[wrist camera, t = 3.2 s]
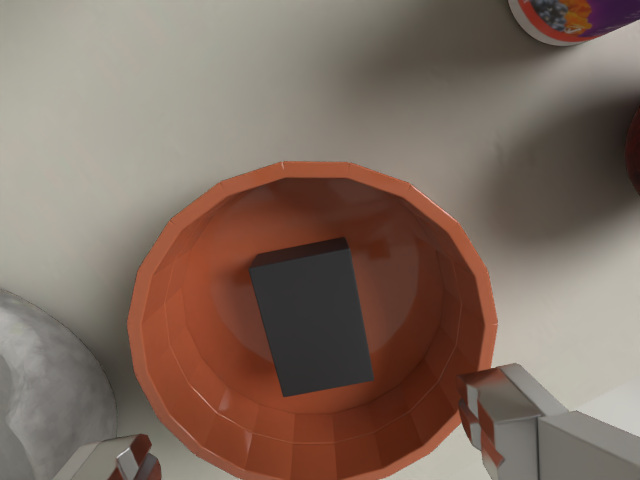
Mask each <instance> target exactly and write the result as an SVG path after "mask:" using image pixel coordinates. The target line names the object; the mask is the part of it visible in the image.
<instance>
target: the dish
mask: <svg viewBox="0 0 640 480" xmlns="http://www.w3.org/2000/svg"><path fill="white" fill-rule="evenodd" d="M116 432H117V408H116V402H115V397H114V394H113V391H112V389H111V386H110V384H109V382H108V379H107V377H106V375H105V373H104V371H103V369H102V367H101V366H100V364H99V363H98V361H97V359H96V358H95V357H94V355H93V354H92V353H91V352H90V351H89V349H88V348H87V347H86V346H85V345H84V344H83V343H82V342H81V341H80V340H79V339H78V338H77V337H76V336H75V335H74V334H73V333H72V332H71V331H70V330H68V329H67V328H66V327H65V326H64V325H62V324H61V323H60V322H58V321H57V320H55V319H54V318H53V317H51V316H50V315H48V314H47V313H45V312H44V311H42V310H41V309H39V308H38V307H36V306H35V305H33V304H31V303H29V302H27V301H25V300H24V299H22V298H20V297H18V296H17V295H14V294H12V293H10V292H7V291H5V290H2V289H0V480H52V479H53V478H54V477H55V476H56V474H57V473H58V472H59V471H60V470H61V468H62V467H63V466H64V465H65V464H66V463H67V461H68V460H69V459H70V458H71V457H72V455H73V454H74V453H75V452H76V451H77V449H78V448H79V447H81V446H82V445H84V444H86V443H89V442H95V441H102V440H106V439H112V438H116Z"/></svg>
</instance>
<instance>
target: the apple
mask: <svg viewBox="0 0 640 480" xmlns="http://www.w3.org/2000/svg"><path fill="white" fill-rule="evenodd" d="M625 162H626V169H627V172H628V175H629V178H630V180H631V182H632V184H633V186H634V188H635V189H636V191H637V192H638V194H639V195H640V106H639V108H638V110H637V111H636V113H635V115H634V117H633V120H632V122H631V125H630V127H629V129H628V133H627V137H626V143H625Z"/></svg>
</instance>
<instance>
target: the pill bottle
mask: <svg viewBox="0 0 640 480" xmlns="http://www.w3.org/2000/svg"><path fill="white" fill-rule="evenodd" d="M508 2H509V6H510V9H511V11H512V13H513V15H514V17H515V19H516V20H517V22H518V23H519V24H520V26H521V27H522V28H523V29H524V30H525V31H526V32H527V33H528V34H529V35H531V36H532V37H533V38H535V39H537V40H539V41H541V42H543V43H547V44H550V45H557V46H569V45H575V44H580V43H583V42H586V41H590V40H592V39H594V38H597V37H600V36H602V35H605V34H607V33H609V32H611V31H614V30H616V29H618V28H621V27H623V26H625V25H628V24H630V23H632V22H634V21H637V20H639V19H640V0H508Z"/></svg>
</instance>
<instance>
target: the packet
mask: <svg viewBox="0 0 640 480" xmlns="http://www.w3.org/2000/svg"><path fill="white" fill-rule="evenodd" d="M248 270H249V274H250V278H251V281H252V285H253V289H254V292H255V296H256V300H257V303H258V307H259V311H260V314H261V318H262V322H263V325H264V329H265V333H266V336H267V340H268V344H269V347H270V351H271V355H272V358H273V362H274V366H275V369H276V373H277V377H278V380H279V384H280V388H281V391H282V395H283V397H289V396H295V395H300V394H305V393H311V392H316V391H321V390H327V389H332V388H338V387H343V386H348V385H354V384H359V383H364V382H370V381H374V375H373V370H372V364H371V359H370V353H369V348H368V343H367V337H366V332H365V326H364V321H363V315H362V310H361V305H360V299H359V294H358V288H357V283H356V278H355V272H354V267H353V261H352V256H351V250H350V248H349V245H348V243H347V240H346V238H345V237H340V238H335V239H330V240H325V241H320V242H315V243H310V244H305V245H300V246H295V247H290V248H285V249H280V250H275V251H270V252H265V253H260V254H257V256H256V257H255V259H254V260H253V262H252V264H251V265H250V267H249V268H248Z"/></svg>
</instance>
